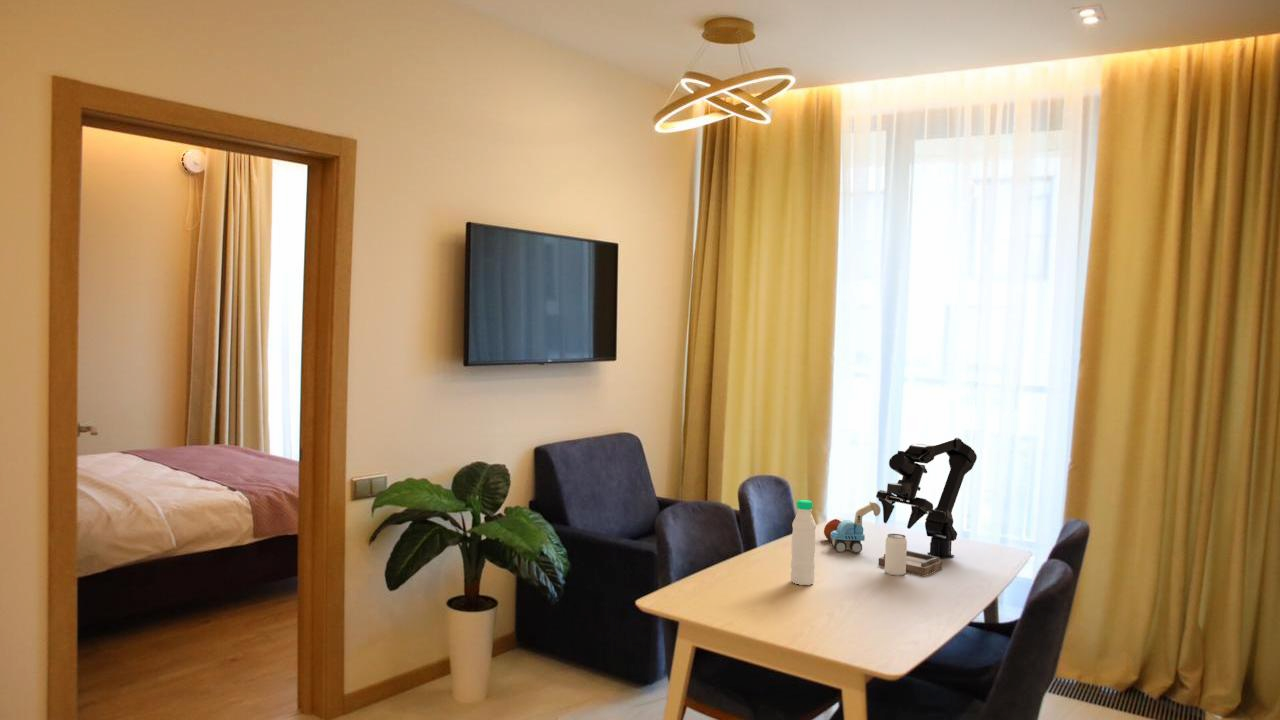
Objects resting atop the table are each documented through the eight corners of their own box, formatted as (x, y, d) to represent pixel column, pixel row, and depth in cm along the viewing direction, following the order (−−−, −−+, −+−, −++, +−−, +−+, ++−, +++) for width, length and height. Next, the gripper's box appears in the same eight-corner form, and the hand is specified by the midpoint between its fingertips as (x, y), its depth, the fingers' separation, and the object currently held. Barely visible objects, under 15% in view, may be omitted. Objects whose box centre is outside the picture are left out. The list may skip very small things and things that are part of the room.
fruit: (843, 545, 323) (844, 523, 322) (820, 541, 328) (820, 519, 327) (852, 540, 330) (853, 519, 330) (829, 537, 335) (830, 515, 335)
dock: (896, 559, 305) (896, 548, 305) (941, 569, 294) (942, 557, 294) (878, 565, 297) (878, 554, 297) (924, 576, 286) (924, 564, 286)
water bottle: (818, 583, 275) (821, 501, 274) (805, 587, 270) (808, 504, 269) (798, 578, 280) (801, 497, 279) (785, 582, 275) (788, 500, 274)
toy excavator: (881, 554, 312) (883, 504, 311) (832, 553, 312) (834, 503, 311) (875, 548, 320) (877, 499, 320) (828, 546, 321) (829, 498, 320)
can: (902, 577, 284) (903, 539, 283) (881, 573, 287) (883, 536, 287) (908, 572, 289) (909, 535, 289) (888, 569, 293) (889, 532, 292)
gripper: (874, 468, 302) (859, 512, 299) (922, 476, 287) (907, 523, 284) (892, 479, 308) (878, 523, 305) (940, 488, 294) (925, 534, 290)
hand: (896, 525), depth 296 cm, fingers open, 9 cm apart
